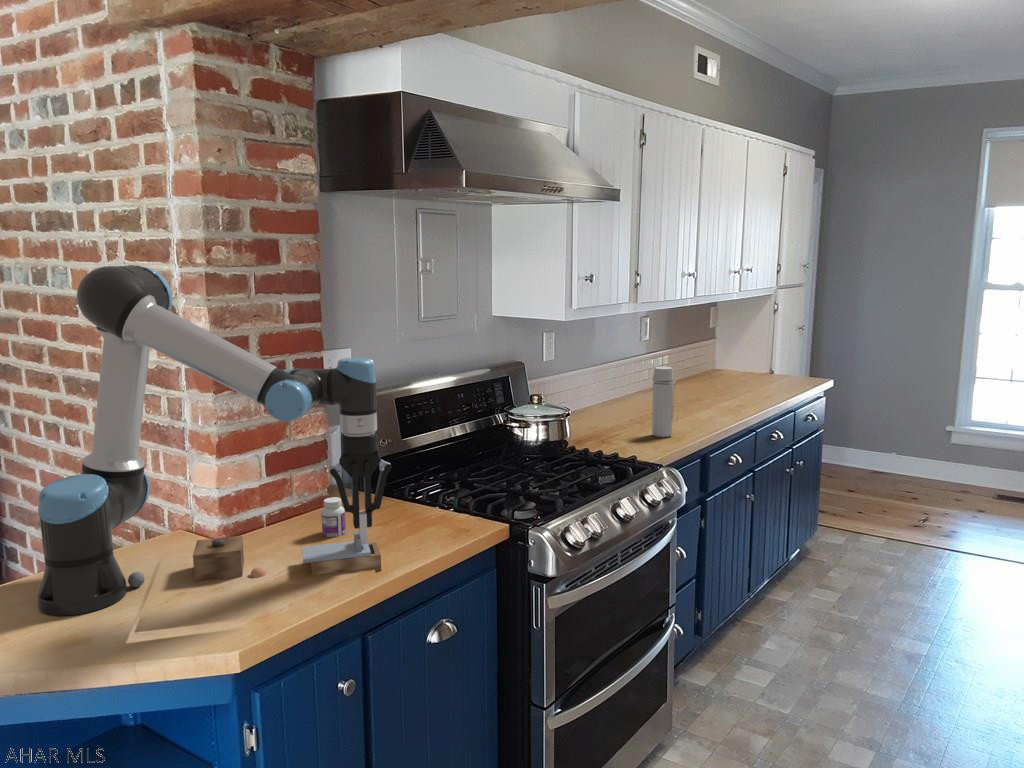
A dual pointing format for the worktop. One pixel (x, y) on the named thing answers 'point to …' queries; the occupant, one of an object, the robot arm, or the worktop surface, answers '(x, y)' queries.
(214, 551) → the cover
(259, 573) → the ball terracotta
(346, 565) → the pencil box
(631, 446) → the worktop surface
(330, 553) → the sliding lid
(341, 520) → the pill bottle
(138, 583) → the ball grey
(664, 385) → the water bottle
